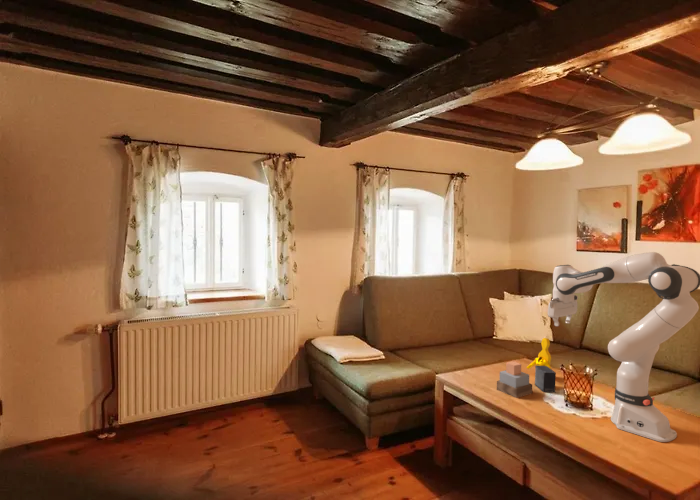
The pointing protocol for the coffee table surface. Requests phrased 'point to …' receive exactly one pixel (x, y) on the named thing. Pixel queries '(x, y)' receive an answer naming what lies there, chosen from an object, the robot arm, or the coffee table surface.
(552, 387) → the small box
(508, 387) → the tower base slab
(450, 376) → the coffee table surface
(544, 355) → the figure statuette
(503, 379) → the tower top block
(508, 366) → the terracotta cube
